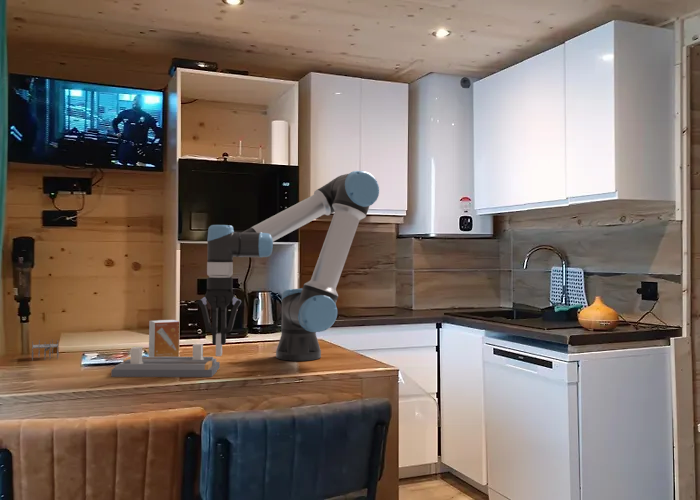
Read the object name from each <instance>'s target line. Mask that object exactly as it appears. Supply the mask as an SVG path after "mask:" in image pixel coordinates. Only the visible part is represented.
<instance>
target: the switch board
mask: <svg viewBox="0 0 700 500" xmlns="http://www.w3.org/2000/svg"><path fill="white" fill-rule="evenodd" d="M203 358H204V360H192V359H193V356H179V357H149V356H142V362H143V364H130V360H131V356H128V357H126V358H124V359H123V360H122V362H120V363H118V364H115V366H114V368H112V369H111V370H110V371H111V373H110V374H111V377H113V378H116V377H117V378H119V377H120V378H122V377H123V378H126V377H127V378H130V377H131V378H213V376H214V375H215V374H216V373H217V372H218V371H219V370H220V369H219V368H220V365H221V363H220V361H217V358H214V356H203ZM218 369H219V370H218ZM217 370H218V371H217Z"/></svg>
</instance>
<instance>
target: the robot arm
mask: <svg viewBox="0 0 700 500" xmlns="http://www.w3.org/2000/svg"><path fill="white" fill-rule="evenodd" d="M379 195H380V186H379V183H378V181H377V178H375V176H374V175H373V174H371V173H370V172H369V171H365V170H353V171H351V172H350V173H345V174H341V175H338V176H337V177H335V178H333V179H332V180H331V181H329V182H327V183H326V184H324V185H322V187H319V188H318V189H315V190H314V193H313V194H312V195H311V196H309V197H306V198H305V199H303V200H301V201H299V202H297V203H296V204H294V205H291V206H290V207H288V208H286V209H284V210H282V211H280V212H278V213H276V214H275V215H272V216H270V217H269V218H266V219H265V220H262V221H261V222H259V223H257V224H255V225H253V226H251V227H250V228H247V229H246V230H244V231H242V232H239V231H235V230H234V226H233V225H230V224H229V225H228V224H211V225H210V226H208V228H207V229H208V230H207V240H206V241H207V262H206V275H207V276H208V277H207V278H206V293H205V294H204V295H205V296H204V297H202V298H201V299H198V300H197V304H198V305H199V307H200V309H201V313H202V318H203V322H204V327H205V331H206V332H208V333H211V335H212V336H211V338H212V339H211V342H212V345H215V357H222V356H223V346H224V345H226V343H227V333H231V331H232V330H233V328H234V324H235V320H236V316H237V313H238V308H239V307H240V305H241V303H242V300H241V299H239V298H237V297H235V293H234V291H233V287H234V286H233V284H234V282H233V281H234V279H233V277H232V276H233V275H234V273H233V271H234V269H233V268H234V267H233V266H234V257H235V258H244V257H245V258H268V257H270V256H272V253H273V249H274V248H273V247H274V242H275V241H277V240H279V239H280V238H281V239H282V238H283V237H284V236H286V235H288V234H290V233H292V232H293V231H296V230H298V229H299V228H301V227H303V226H305V225H308V224H309V223H310V222H312V221H314V220H316V219H319V218H320V217H322V216H324V215H325V216H330V215H332V214H333V216H332V219H331V222H330V225H329V228H328V230H327V232H326V235H325V239H324V241H323V244H322V247H321V250H320V253H319V255H318V256H319V257H318V258H317V261H316V264H315V267H314V270H313V271H312V272H313V273H312V275H311V278H310V280H308V281H307V282H305V283H304V284H303V287H302V288H290V289H285V290H284V291H282V294H281V298H280V300H281V334H280V335H281V336H280V338H279V340H278V341H279V342H278V344H277V348H276V351H275V358H276V359H278V360H283V361H293V362H294V361H295V362H297V361H298V362H300V361H301V362H305V361H313V360H314V361H315V360H318V359H321V357H322V350H321V347H320V344H319V341H318V337H317V333H321V332H325V331H327V330H328V329H330V328H331V327H332V326H333V325H334V323H335V322H336V320H337V317H338V308H337V301H338V298H339V294H338V291H337V286H338V284H339V281H340V277H341V275H342V272H343V269H344V268H345V267H344V266H345V264H346V261H347V258H348V256H349V252H350V248H351V246H352V244H353V240H354V237H355V235H356V232H357V229H358V226H359V223H360V221H361V220H363V219H365V218H366V217H367V215H368V211H369V209H370V207H371V206H372V205H373V204H375V202H377V200H378V199H379ZM207 302H208V303H207ZM231 302H232V305H233V307H232V308H231V312H230V317H229V321H228V324H227V312H228V311H227V310H228V308H227V307H229V305H230V304H231ZM207 304H209V305H210V306H211V310H212V314H211V316H212V317H211V318H212V320H211V319H210V316H209V312H208V311H209V310H208V308H207V307H208V306H207ZM219 308H220V332H219V331H218V329H219V328H218V327H219V322H218V320H219ZM211 321H212V322H211Z"/></svg>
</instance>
